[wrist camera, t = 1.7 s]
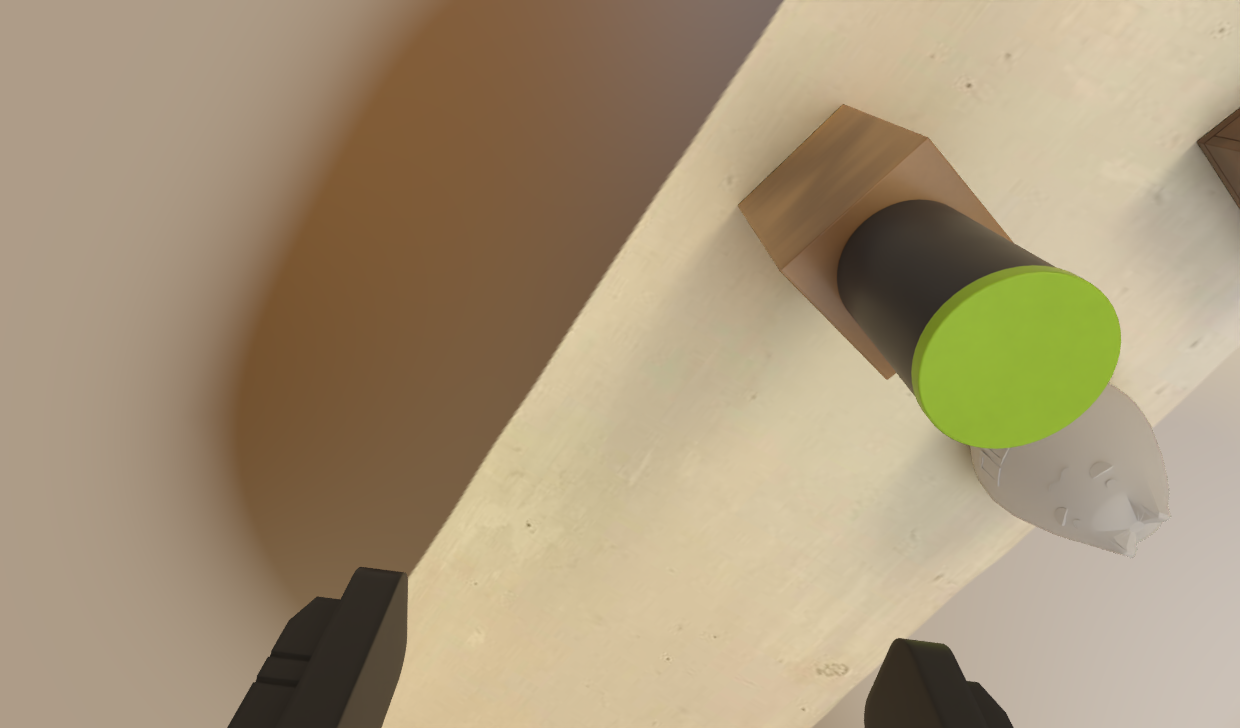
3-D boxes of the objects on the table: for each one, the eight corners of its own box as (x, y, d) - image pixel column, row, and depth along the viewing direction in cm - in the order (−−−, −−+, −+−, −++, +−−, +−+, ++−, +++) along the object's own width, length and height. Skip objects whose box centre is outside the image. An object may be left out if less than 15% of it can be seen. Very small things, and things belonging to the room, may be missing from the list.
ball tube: (923, 165, 30) (1054, 228, 21) (1007, 266, 32) (1159, 363, 23) (804, 270, 32) (878, 369, 23) (891, 359, 34) (989, 481, 25)
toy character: (1011, 333, 46) (1131, 430, 36) (1139, 385, 48) (1291, 492, 37) (924, 457, 51) (1008, 576, 40) (1046, 500, 52) (1157, 626, 42)
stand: (843, 103, 40) (928, 136, 29) (926, 201, 42) (1032, 265, 32) (737, 205, 42) (779, 270, 32) (821, 292, 45) (887, 380, 34)
